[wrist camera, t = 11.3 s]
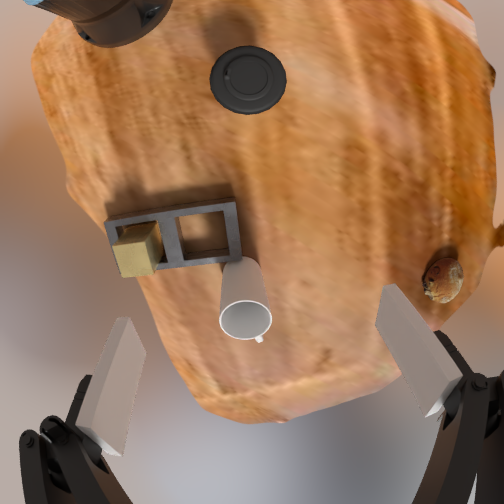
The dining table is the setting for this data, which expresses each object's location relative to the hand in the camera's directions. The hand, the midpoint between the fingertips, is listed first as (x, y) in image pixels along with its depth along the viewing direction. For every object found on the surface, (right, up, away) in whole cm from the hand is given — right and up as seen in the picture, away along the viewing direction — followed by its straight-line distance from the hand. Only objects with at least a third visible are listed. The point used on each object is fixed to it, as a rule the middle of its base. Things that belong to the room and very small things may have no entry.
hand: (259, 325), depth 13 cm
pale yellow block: (-17, +6, +28) cm, 33 cm away
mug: (-1, -1, +33) cm, 33 cm away
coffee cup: (-1, +26, +19) cm, 32 cm away
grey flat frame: (-12, +6, +28) cm, 31 cm away
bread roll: (+40, -1, +37) cm, 54 cm away
